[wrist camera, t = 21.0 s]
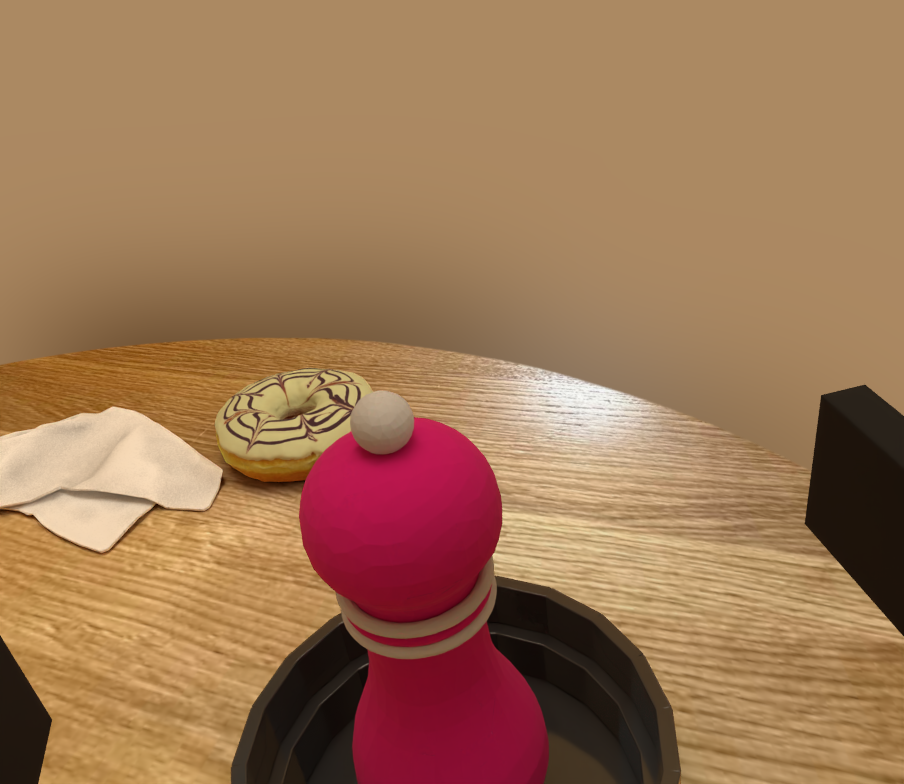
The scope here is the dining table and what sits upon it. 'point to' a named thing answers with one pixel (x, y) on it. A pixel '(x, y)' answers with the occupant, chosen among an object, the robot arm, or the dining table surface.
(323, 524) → the pepper mill
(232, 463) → the decorated donut
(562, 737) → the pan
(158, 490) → the cloth
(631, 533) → the dining table surface
